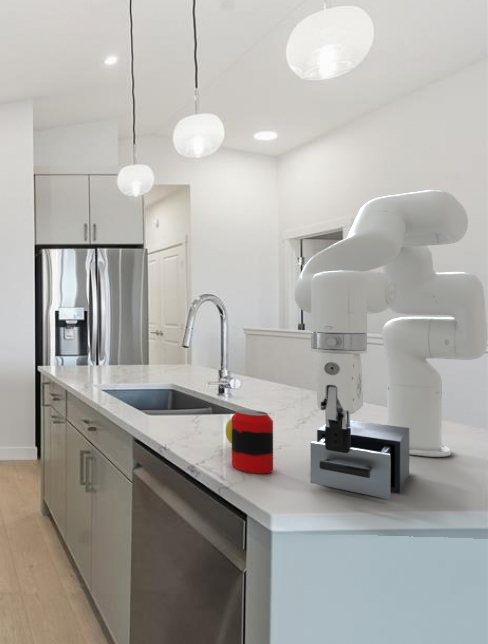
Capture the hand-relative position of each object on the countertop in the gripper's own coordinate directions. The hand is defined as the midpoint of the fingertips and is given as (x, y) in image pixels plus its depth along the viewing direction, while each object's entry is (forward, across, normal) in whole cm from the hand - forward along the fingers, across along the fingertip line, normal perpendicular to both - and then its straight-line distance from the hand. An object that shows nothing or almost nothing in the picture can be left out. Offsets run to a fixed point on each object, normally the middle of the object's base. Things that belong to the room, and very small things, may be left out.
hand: (337, 450), depth 85 cm
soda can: (+10, +13, +17) cm, 24 cm away
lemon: (+10, +27, +24) cm, 38 cm away
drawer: (+9, +13, 0) cm, 16 cm away
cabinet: (+10, +24, 0) cm, 26 cm away
